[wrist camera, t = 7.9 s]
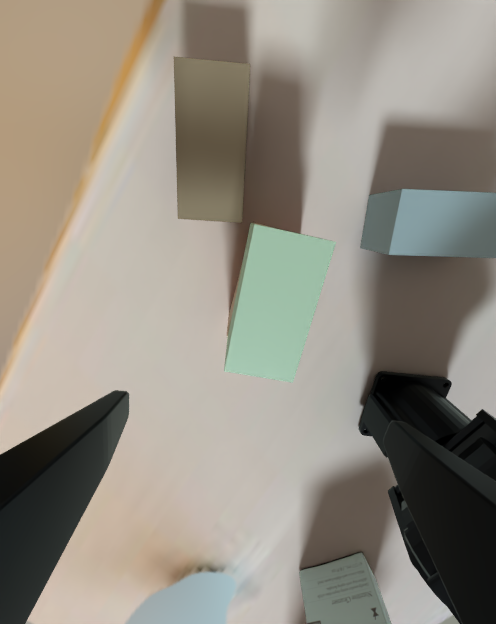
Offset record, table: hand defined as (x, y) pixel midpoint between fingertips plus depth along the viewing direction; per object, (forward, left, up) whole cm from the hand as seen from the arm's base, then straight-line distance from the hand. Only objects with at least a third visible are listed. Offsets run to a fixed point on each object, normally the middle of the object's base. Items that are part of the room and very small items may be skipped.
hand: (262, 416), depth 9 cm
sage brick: (-1, -2, -8) cm, 8 cm away
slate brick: (-11, -7, -12) cm, 18 cm away
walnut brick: (+3, -9, -12) cm, 16 cm away
